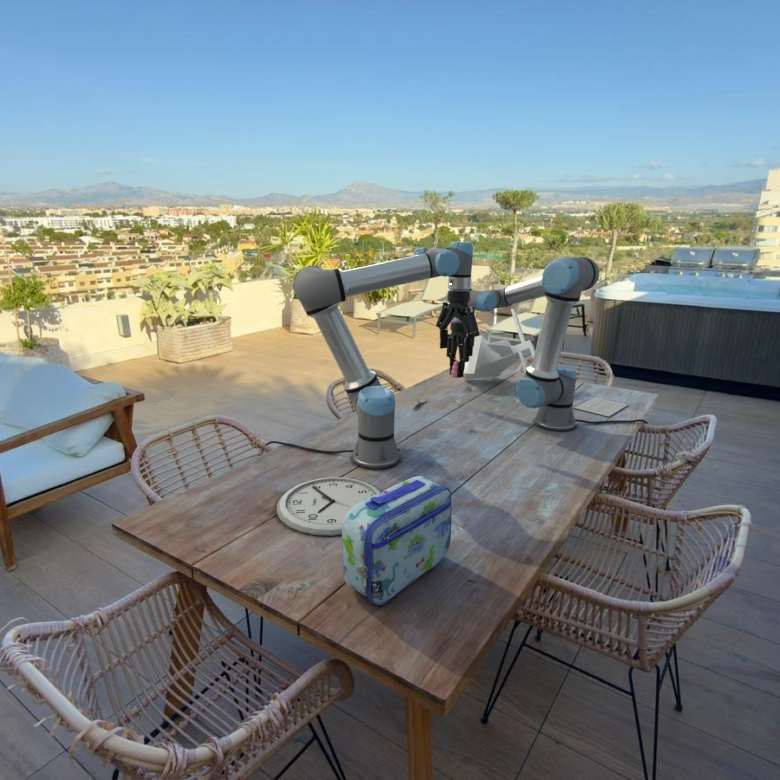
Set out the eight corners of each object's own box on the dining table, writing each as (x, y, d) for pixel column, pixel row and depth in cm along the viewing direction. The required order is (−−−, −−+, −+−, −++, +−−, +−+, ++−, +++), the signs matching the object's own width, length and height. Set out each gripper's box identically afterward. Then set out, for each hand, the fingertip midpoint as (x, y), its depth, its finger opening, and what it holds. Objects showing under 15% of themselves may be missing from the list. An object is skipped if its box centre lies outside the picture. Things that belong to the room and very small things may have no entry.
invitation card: (608, 416, 214) (573, 407, 224) (608, 416, 214) (573, 408, 224) (628, 404, 229) (594, 396, 238) (628, 405, 229) (594, 397, 238)
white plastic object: (480, 422, 262) (459, 399, 237) (462, 348, 284) (440, 320, 259) (552, 397, 249) (538, 371, 225) (527, 322, 271) (511, 291, 247)
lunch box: (371, 618, 102) (371, 524, 95) (336, 591, 109) (334, 502, 103) (455, 562, 119) (460, 479, 113) (420, 542, 126) (423, 463, 120)
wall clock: (392, 527, 129) (268, 531, 127) (391, 533, 130) (269, 537, 127) (383, 473, 158) (282, 475, 155) (383, 478, 158) (282, 480, 156)
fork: (410, 410, 218) (411, 405, 217) (421, 399, 232) (422, 394, 231) (416, 411, 217) (417, 406, 216) (427, 399, 231) (427, 395, 230)
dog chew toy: (456, 374, 226) (457, 358, 224) (463, 377, 222) (464, 361, 220) (448, 376, 223) (449, 360, 221) (455, 378, 220) (456, 362, 218)
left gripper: (427, 286, 182) (425, 346, 189) (475, 294, 162) (471, 361, 169) (444, 285, 186) (442, 344, 193) (493, 293, 166) (488, 358, 172)
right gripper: (439, 318, 221) (436, 371, 228) (466, 325, 207) (463, 382, 214) (453, 317, 225) (450, 369, 232) (481, 324, 211) (476, 379, 218)
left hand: (455, 352), depth 181 cm, fingers open, 13 cm apart
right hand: (456, 375), depth 223 cm, fingers closed on dog chew toy, 4 cm apart
